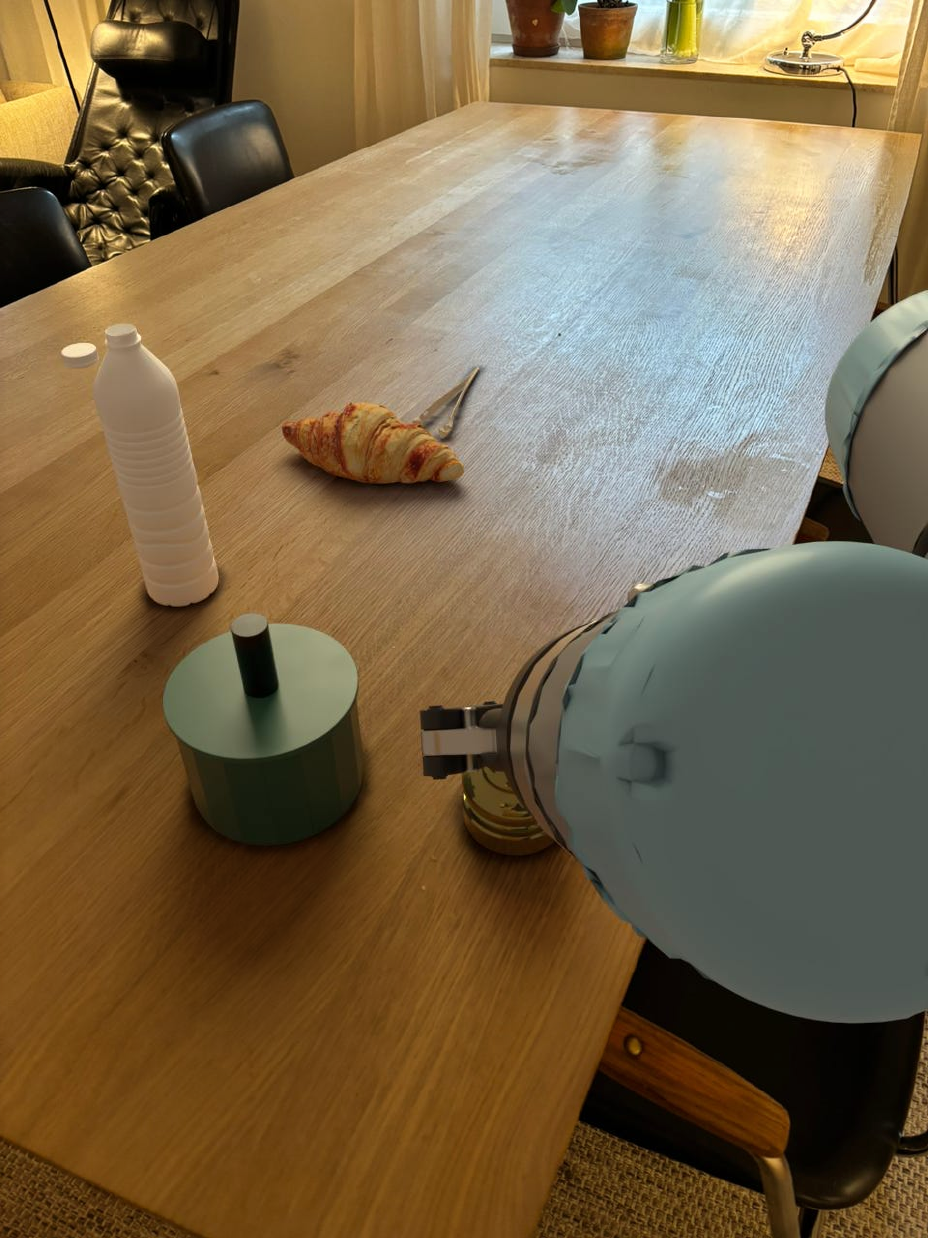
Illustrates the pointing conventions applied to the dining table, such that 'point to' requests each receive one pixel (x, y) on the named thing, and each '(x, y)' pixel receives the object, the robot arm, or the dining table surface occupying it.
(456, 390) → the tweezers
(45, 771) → the dining table surface
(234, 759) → the pot lid
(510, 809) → the brass calibration weight
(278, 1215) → the dining table surface
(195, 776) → the pot
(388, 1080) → the dining table surface
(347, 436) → the croissant
